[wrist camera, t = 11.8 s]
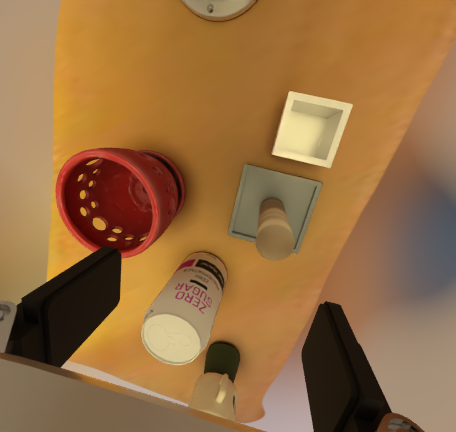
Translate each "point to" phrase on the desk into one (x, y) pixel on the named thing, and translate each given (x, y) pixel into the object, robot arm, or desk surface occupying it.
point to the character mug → (217, 383)
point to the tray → (279, 188)
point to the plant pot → (119, 197)
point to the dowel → (274, 230)
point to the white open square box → (310, 129)
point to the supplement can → (185, 310)
